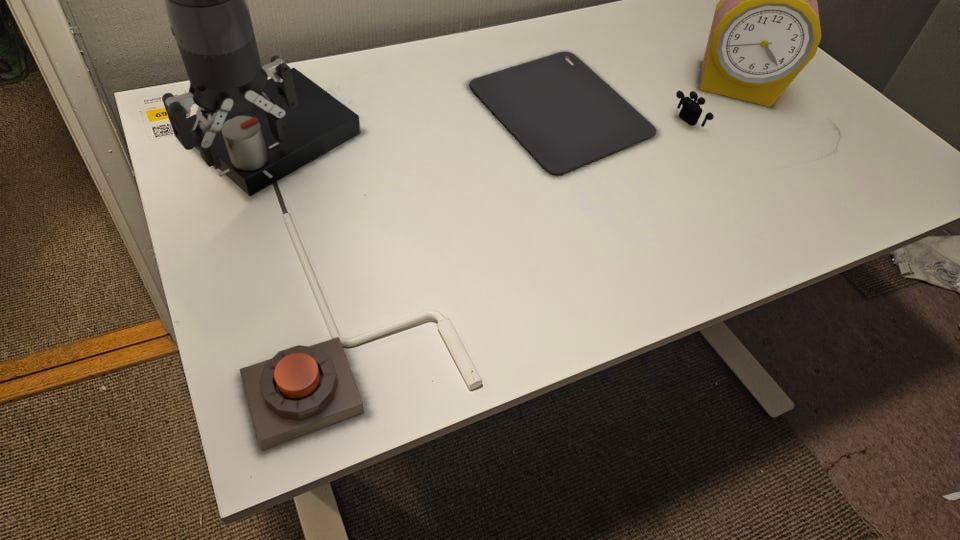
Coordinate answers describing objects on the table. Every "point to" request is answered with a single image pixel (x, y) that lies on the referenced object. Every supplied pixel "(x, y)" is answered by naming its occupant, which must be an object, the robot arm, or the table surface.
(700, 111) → the wireless earbuds
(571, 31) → the table surface
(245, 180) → the stove panel
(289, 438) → the button block
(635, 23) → the table surface
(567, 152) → the mouse pad
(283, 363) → the button
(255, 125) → the dial
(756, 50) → the alarm clock
